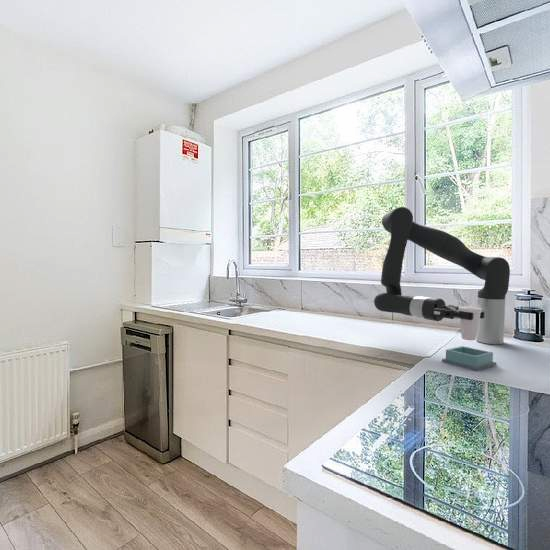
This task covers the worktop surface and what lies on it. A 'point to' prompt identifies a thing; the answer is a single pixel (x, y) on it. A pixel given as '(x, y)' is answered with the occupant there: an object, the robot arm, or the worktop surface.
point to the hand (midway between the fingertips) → (478, 315)
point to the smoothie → (470, 321)
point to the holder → (469, 358)
